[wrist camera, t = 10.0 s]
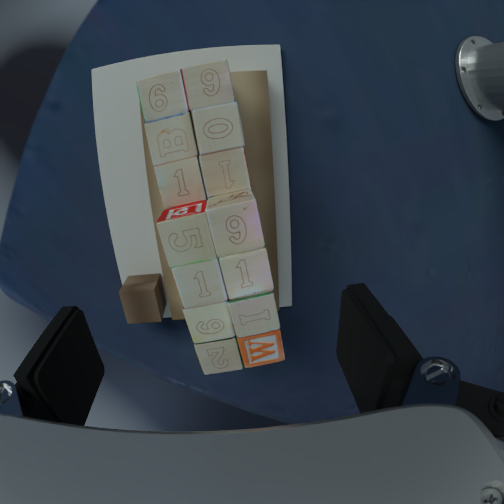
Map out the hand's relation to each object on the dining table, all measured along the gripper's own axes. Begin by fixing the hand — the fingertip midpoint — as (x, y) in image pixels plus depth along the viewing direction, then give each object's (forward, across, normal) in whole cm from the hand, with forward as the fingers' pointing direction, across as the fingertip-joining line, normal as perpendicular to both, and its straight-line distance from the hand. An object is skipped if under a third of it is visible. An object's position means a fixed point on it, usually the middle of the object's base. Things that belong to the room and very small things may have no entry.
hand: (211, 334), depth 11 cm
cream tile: (+25, +3, -1) cm, 25 cm away
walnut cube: (+24, +10, +10) cm, 28 cm away
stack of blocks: (+21, +1, 0) cm, 21 cm away
